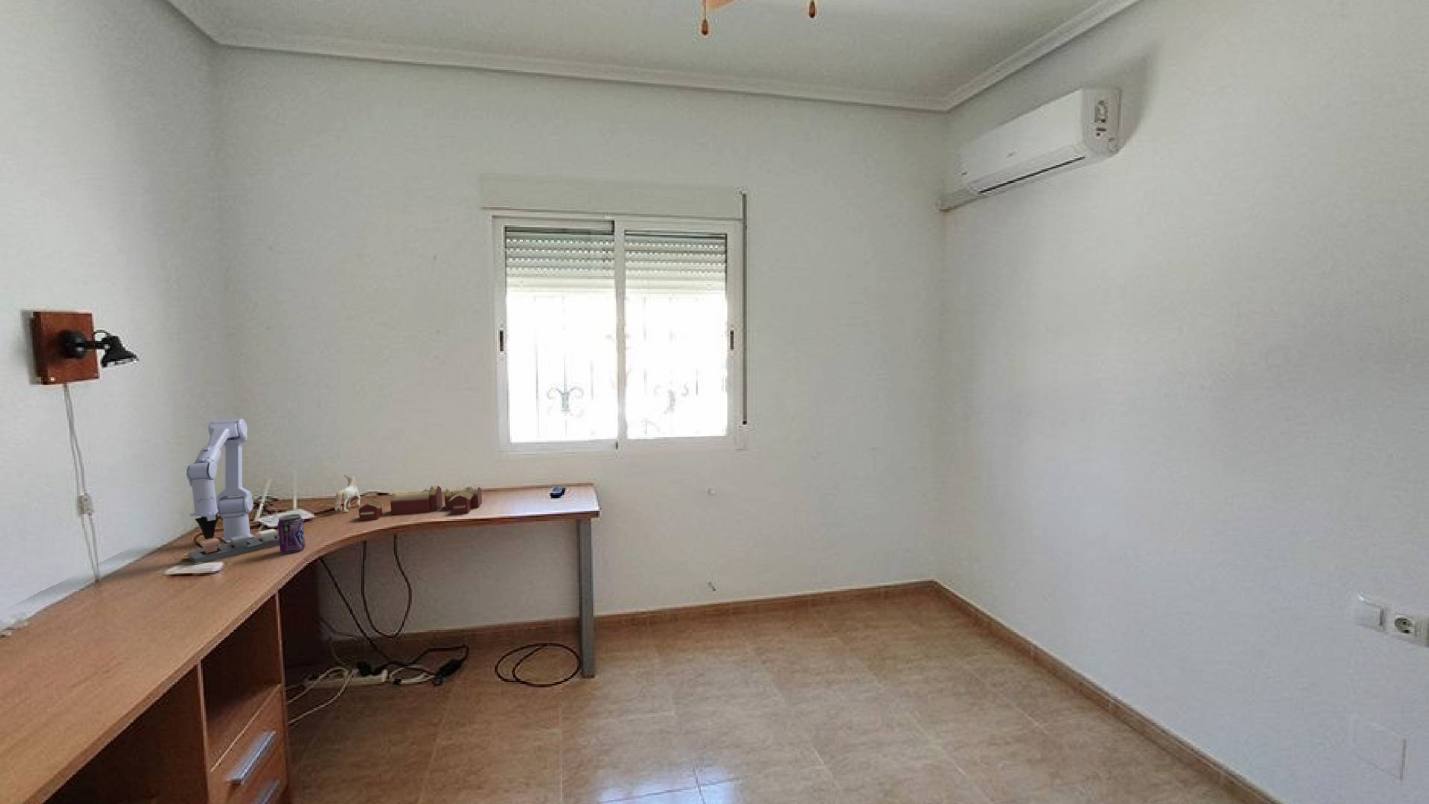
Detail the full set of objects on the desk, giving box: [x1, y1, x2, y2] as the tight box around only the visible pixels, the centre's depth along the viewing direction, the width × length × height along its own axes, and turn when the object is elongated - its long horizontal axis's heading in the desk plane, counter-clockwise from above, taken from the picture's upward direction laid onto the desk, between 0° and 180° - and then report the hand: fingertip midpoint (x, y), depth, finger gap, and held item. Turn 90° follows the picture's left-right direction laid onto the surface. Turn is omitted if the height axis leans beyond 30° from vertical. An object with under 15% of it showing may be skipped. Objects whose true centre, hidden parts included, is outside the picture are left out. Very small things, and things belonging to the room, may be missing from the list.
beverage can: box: [277, 513, 306, 554], centre depth 205 cm, size 7×7×12 cm
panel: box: [187, 532, 280, 564], centre depth 208 cm, size 10×26×2 cm, turn 140°
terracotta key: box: [199, 537, 221, 553], centre depth 201 cm, size 4×4×3 cm
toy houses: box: [356, 485, 483, 522], centre depth 251 cm, size 45×20×10 cm, turn 101°
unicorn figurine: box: [333, 474, 361, 513], centre depth 259 cm, size 7×20×13 cm, turn 18°
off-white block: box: [257, 528, 278, 542], centre depth 214 cm, size 4×4×3 cm
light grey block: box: [230, 535, 250, 548], centre depth 207 cm, size 4×4×3 cm
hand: (209, 538), depth 201 cm, fingers closed
